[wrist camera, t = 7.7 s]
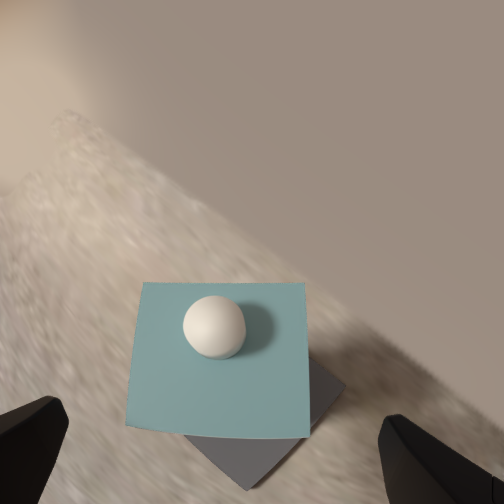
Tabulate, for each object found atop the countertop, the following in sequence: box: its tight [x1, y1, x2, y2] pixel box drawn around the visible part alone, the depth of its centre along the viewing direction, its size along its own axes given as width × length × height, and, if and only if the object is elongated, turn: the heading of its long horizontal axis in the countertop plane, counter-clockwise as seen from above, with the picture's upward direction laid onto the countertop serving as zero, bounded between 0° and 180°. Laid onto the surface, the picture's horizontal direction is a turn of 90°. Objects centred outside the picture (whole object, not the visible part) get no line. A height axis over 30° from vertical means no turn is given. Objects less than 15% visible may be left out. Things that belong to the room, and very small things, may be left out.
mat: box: [183, 356, 346, 491], centre depth 18 cm, size 9×9×1 cm
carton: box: [125, 282, 310, 439], centre depth 13 cm, size 5×5×12 cm
